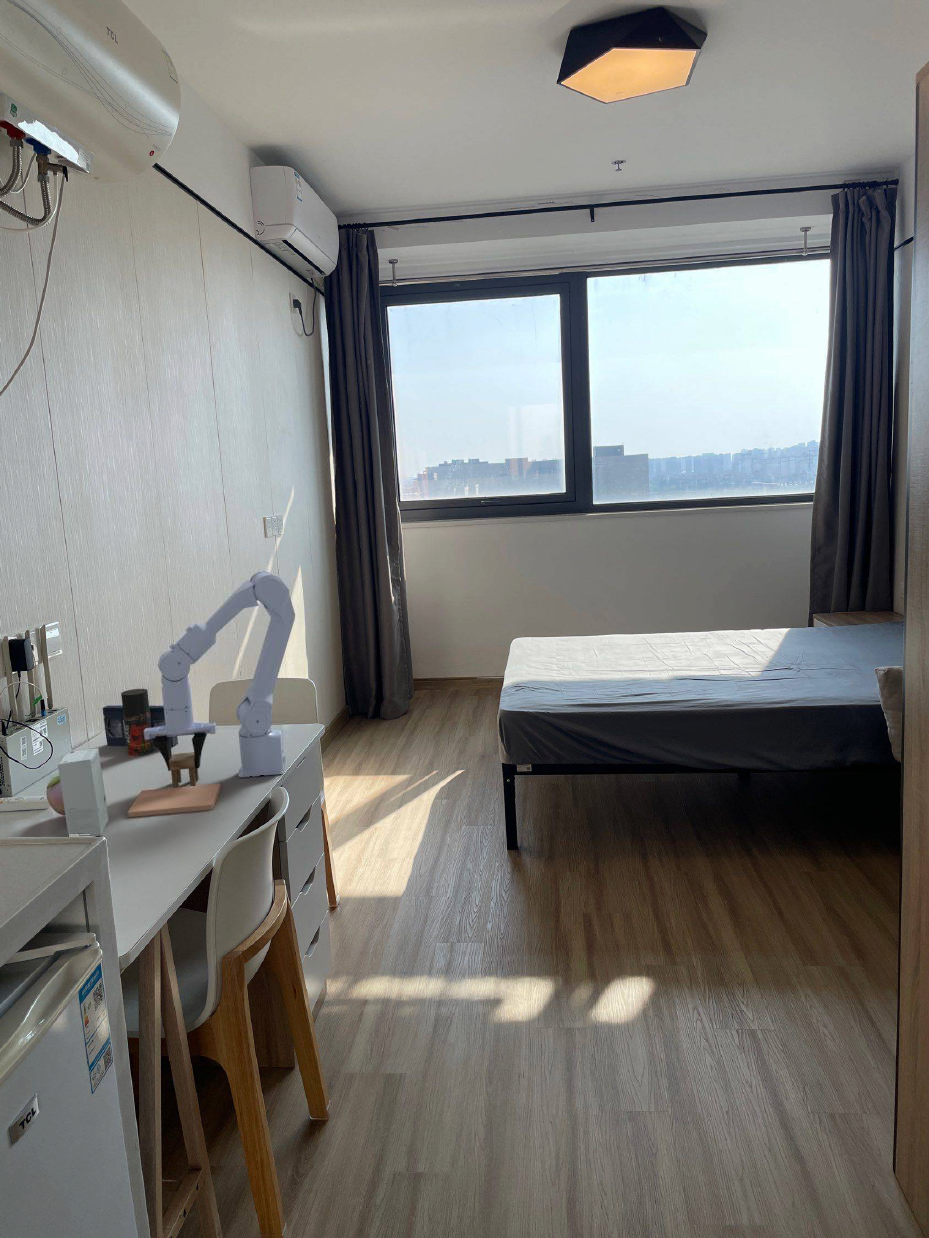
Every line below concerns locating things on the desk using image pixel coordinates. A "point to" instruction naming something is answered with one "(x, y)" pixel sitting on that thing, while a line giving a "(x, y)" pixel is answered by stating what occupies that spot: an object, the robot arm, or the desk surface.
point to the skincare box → (83, 792)
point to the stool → (180, 763)
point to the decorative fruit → (55, 795)
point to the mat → (175, 800)
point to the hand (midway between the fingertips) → (184, 768)
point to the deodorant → (137, 721)
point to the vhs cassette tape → (117, 725)
